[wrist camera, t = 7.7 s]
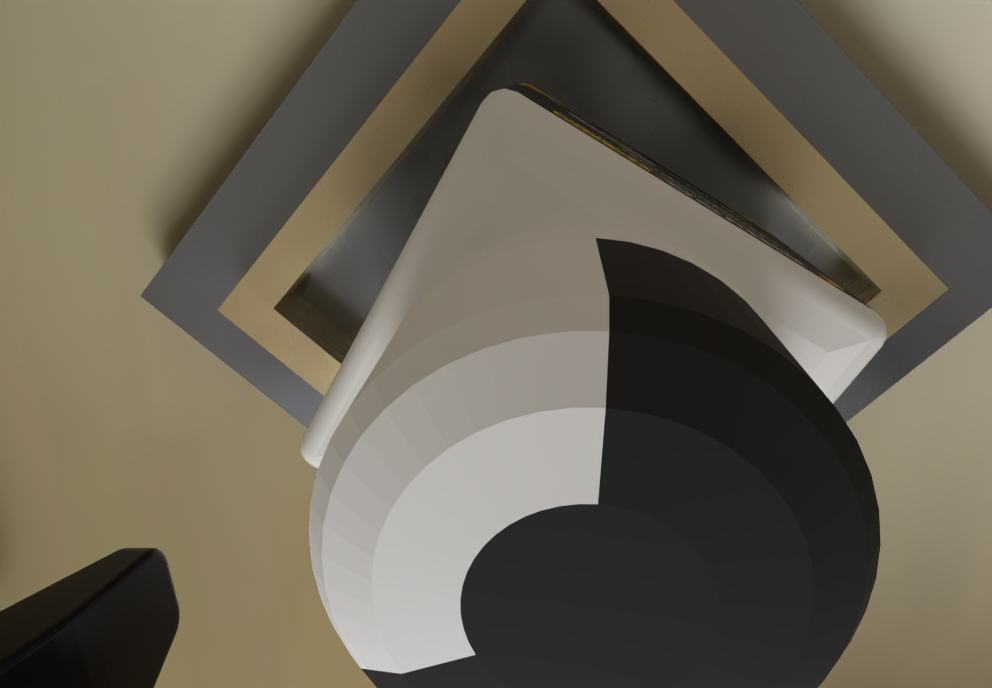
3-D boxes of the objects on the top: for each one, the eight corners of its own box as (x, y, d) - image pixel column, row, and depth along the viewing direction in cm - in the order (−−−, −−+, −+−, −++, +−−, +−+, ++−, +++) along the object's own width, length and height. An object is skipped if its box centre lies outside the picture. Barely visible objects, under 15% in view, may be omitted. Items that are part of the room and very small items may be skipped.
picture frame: (1004, 252, 19) (1084, 285, 16) (571, 604, 24) (574, 676, 21) (553, -238, 16) (552, -305, 13) (168, 280, 21) (107, 313, 18)
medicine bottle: (773, 233, 17) (1163, 521, 6) (610, 454, 20) (680, 946, 9) (518, 76, 17) (438, 82, 5) (381, 326, 19) (130, 687, 8)
